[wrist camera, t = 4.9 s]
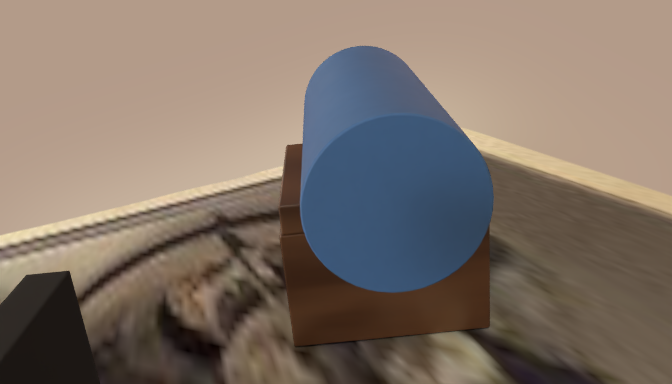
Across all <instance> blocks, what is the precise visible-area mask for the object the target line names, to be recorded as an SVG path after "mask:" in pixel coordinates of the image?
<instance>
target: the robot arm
mask: <svg viewBox="0 0 672 384" xmlns="http://www.w3.org/2000/svg"><path fill="white" fill-rule="evenodd" d="M0 384H100V381H99V377H98V374H97V370H96V367H95V363H94V359H93V356H92V352H91V348H90V345H89V341H88V337H87V334H86V330H85V326H84V323H83V319H82V315H81V312H80V308H79V304H78V301H77V297H76V293H75V290H74V286H73V282H72V279H71V275H70V271H62V272H52V273H42V274H32V275H26V276H25V277H24V278H23V280H22V281H21V282H20V283H19V284H18V285H17V286H16V288H15V289H14V290H13V291H12V292H11V293H10V294H9V295H8V297H7V298H6V299H5V300H4V301H3V302H2V303H1V305H0Z"/></svg>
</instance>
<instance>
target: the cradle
mask: <svg viewBox="0 0 672 384" xmlns="http://www.w3.org/2000/svg"><path fill="white" fill-rule="evenodd" d="M302 148H303V144H295V145H287V147H286V152H285V160H284V168H283V175H282V183H281V191H280V199H279V206H278V210H279V217H280V224H281V229H280V244H281V251H282V259H283V266H284V273H285V281H286V288H287V295H288V303H289V310H290V317H291V324H292V332H293V339H294V345H295V346H306V345H316V344H326V343H336V342H346V341H356V340H366V339H376V338H386V337H396V336H406V335H416V334H426V333H436V332H447V331H457V330H467V329H477V328H487V327H489V326H490V253H489V227H488V229H487V232H486V234H485V236H484V238H483V240H482V242H481V244H480V245H479V247H478V248H477V250H476V251H475V253H474V254H473V255H472V256H471V257H470V258H469V260H468V261H467V262H466V263H465V264H464V265H462V266H461V267H460V268H459V269H458V270H457V271H455V272H454V273H452V274H451V275H450V276H448V277H447V278H445V279H443V280H441V281H439V282H437V283H435V284H432V285H430V286H427V287H425V288H421V289H417V290H413V291H407V292H395V293H388V292H377V291H372V290H367V289H364V288H361V287H358V286H355V285H353V284H351V283H348V282H346V281H345V280H343V279H341V278H340V277H338V276H337V275H335V274H334V273H333V272H331V271H330V270H329V269H328V268H326V267H325V265H324V264H323V263H322V262H321V261H320V260H319V259H318V258H317V256H316V255H315V253H314V252H313V251H312V249H311V247H310V245H309V243H308V241H307V239H306V236H305V233H304V231H303V227H302V222H301V217H300V192H301V170H302Z"/></svg>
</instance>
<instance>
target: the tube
mask: <svg viewBox="0 0 672 384" xmlns="http://www.w3.org/2000/svg"><path fill="white" fill-rule="evenodd" d="M304 105H305V106H304V125H303V148H302V170H301V192H300V217H301V222H302V227H303V231H304V233H305V236H306V239H307V241H308V243H309V245H310V247H311V249H312V251H313V252H314V253H315V255H316V256H317V258H318V259H319V260H320V261H321V262H322V263H323V264H324V265H325V267H326V268H328V269H329V270H330V271H331V272H333V273H334V274H335V275H337V276H338V277H340V278H341V279H343V280H345V281H346V282H348V283H351V284H353V285H355V286H358V287H361V288H364V289H367V290H372V291H377V292H388V293H395V292H407V291H413V290H417V289H421V288H425V287H427V286H430V285H432V284H435V283H437V282H439V281H441V280H443V279H445V278H447V277H448V276H450V275H451V274H452V273H454V272H455V271H457V270H458V269H459V268H460V267H461V266H462V265H464V264H465V263H466V262H467V261H468V260H469V258H470V257H471V256H472V255H473V254H474V253H475V251H476V250H477V248H478V247H479V245H480V244H481V242H482V240H483V238H484V236H485V234H486V232H487V229H488V227H489V224H490V221H491V216H492V211H493V200H494V196H493V185H492V180H491V175H490V172H489V170H488V167H487V164H486V162H485V161H484V159H483V157H482V155H481V153H480V152H479V151H478V149H477V148H476V147H475V145H474V144H473V143H472V142H471V140H470V139H469V138H468V137H467V136H466V134H465V133H464V132H463V131H462V130H461V128H460V127H459V126H458V125H457V124H456V123H455V121H454V120H453V119H452V118H451V117H450V115H449V114H448V113H447V112H446V111H445V110H444V108H443V107H442V106H441V105H440V103H439V102H438V101H437V100H436V99H435V98H434V96H433V95H432V94H431V93H430V92H429V91H428V89H427V88H426V87H425V86H424V84H423V83H422V82H421V81H420V80H419V79H418V77H417V76H416V75H415V74H414V73H413V71H412V70H411V69H410V68H409V67H408V65H407V64H406V63H405V62H404V61H403V60H401V59H400V58H399V57H397V56H396V55H394V54H393V53H391V52H389V51H387V50H384V49H382V48H377V47H372V46H357V47H350V48H347V49H344V50H341V51H339V52H337V53H335V54H333V55H332V56H330V57H329V58H328V59H326V60H325V61H324V62H323V63H322V64H321V65H320V66H319V67H318V68H317V70H316V71H315V72H314V74H313V76H312V77H311V79H310V81H309V84H308V87H307V90H306V94H305V103H304Z"/></svg>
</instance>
